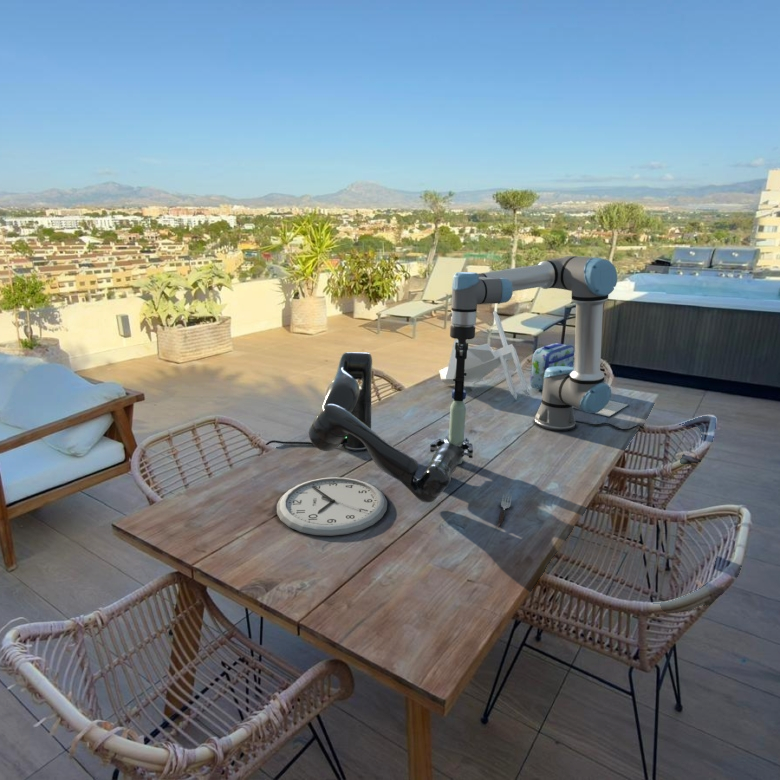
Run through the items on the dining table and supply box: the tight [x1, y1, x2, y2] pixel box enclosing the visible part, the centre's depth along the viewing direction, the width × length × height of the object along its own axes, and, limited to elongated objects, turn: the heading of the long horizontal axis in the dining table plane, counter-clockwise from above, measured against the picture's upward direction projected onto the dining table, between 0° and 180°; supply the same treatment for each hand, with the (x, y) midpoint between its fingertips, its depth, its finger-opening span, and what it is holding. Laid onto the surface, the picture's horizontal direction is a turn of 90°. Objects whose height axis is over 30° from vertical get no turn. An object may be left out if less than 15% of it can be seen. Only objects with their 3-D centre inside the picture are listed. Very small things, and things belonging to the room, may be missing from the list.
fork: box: [497, 493, 513, 528], centre depth 139 cm, size 3×16×2 cm, turn 160°
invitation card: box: [573, 400, 629, 418], centre depth 226 cm, size 21×1×15 cm
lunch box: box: [530, 342, 575, 391], centre depth 250 cm, size 26×11×21 cm, turn 134°
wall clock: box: [276, 476, 388, 537], centre depth 142 cm, size 30×2×30 cm
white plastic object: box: [438, 310, 531, 400], centre depth 245 cm, size 37×45×31 cm
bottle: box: [448, 400, 467, 465], centre depth 168 cm, size 5×5×23 cm
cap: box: [451, 388, 467, 401], centre depth 164 cm, size 4×4×2 cm
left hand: (457, 439), depth 171 cm, fingers closed on bottle, 5 cm apart
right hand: (458, 398), depth 165 cm, fingers closed on cap, 4 cm apart
